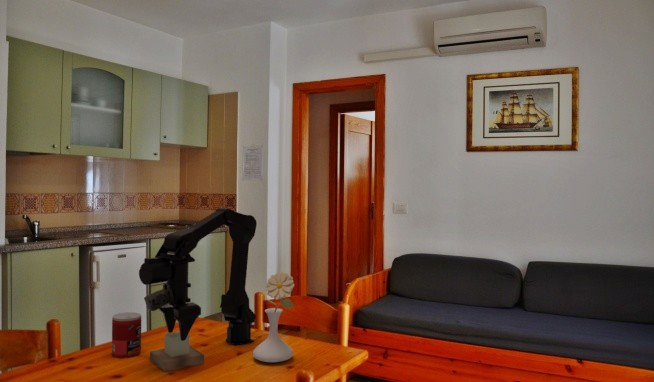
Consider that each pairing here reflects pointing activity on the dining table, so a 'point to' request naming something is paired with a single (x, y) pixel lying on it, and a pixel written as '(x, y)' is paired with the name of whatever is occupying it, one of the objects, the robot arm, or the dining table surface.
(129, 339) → the canned food
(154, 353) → the base
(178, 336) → the cube
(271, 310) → the flower in vase
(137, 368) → the dining table surface
